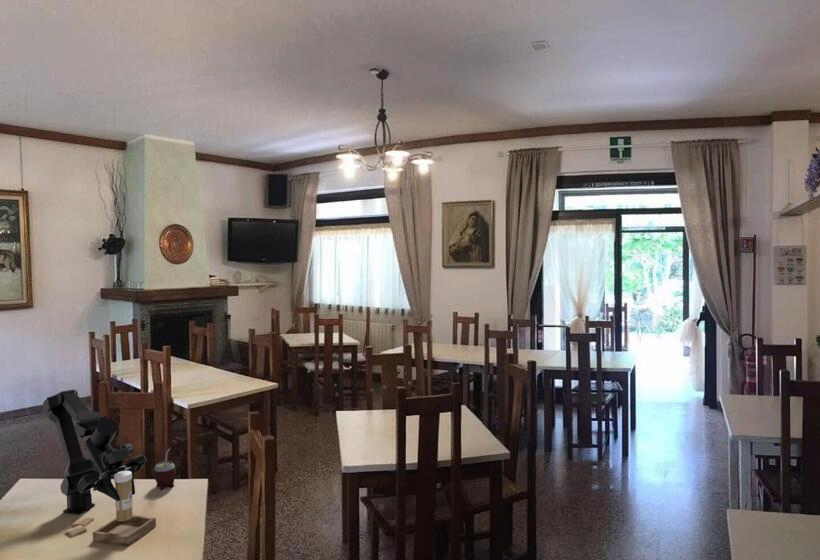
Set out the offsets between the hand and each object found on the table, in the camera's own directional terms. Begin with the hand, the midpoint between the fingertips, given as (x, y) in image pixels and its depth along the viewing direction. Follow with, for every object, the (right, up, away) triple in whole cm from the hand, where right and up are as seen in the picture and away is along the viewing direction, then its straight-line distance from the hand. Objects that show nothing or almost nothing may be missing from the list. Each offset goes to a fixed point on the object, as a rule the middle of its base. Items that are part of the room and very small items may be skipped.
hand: (126, 497), depth 162 cm
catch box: (-1, -11, +1) cm, 11 cm away
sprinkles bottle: (-1, -7, +1) cm, 7 cm away
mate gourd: (-3, -10, +34) cm, 35 cm away
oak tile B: (-16, -12, +2) cm, 20 cm away
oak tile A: (-17, -11, +8) cm, 22 cm away
